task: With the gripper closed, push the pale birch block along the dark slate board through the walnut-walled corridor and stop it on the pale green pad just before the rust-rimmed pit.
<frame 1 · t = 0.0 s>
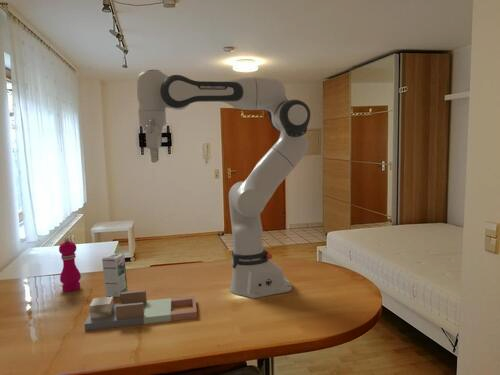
hand: (155, 161, 135), 48 cm above the table, tool pointing down, fingers open, 8 cm apart
birch block: (102, 313, 125), point 2 cm above the table, touching route board
syrup box: (116, 294, 146), on the table
route board: (145, 314, 127), on the table
pepper mill: (71, 289, 153), on the table
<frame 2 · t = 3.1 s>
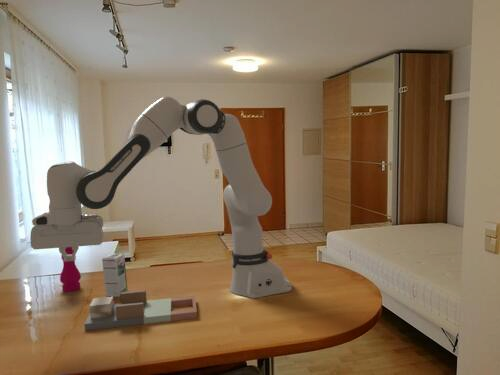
hand: (70, 260, 121), 20 cm above the table, tool pointing down, fingers closed
nothing on the table moved.
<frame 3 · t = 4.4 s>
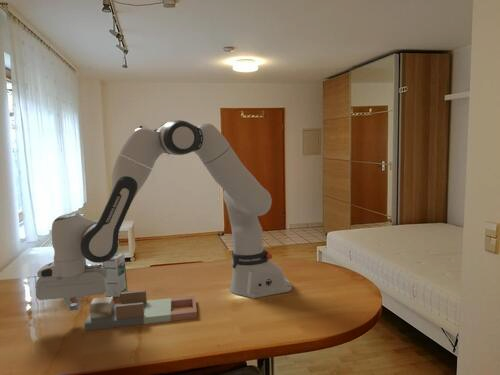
hand: (74, 309, 123), 4 cm above the table, tool pointing down, fingers closed
nothing on the table moved.
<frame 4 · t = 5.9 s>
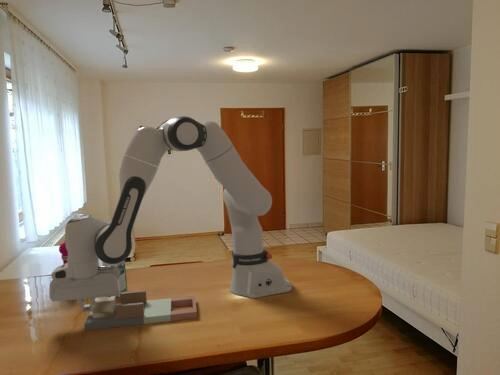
hand: (87, 311, 124), 3 cm above the table, tool pointing down, fingers closed
birch block: (104, 312, 125), point 2 cm above the table, touching gripper
everything else where it was.
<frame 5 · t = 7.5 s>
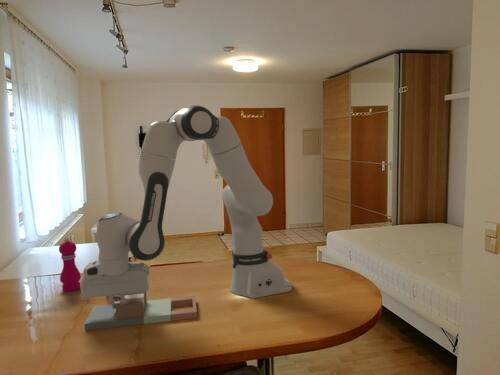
hand: (117, 307, 126), 3 cm above the table, tool pointing down, fingers closed
birch block: (134, 309, 127), point 2 cm above the table, touching gripper, route board
everything else where it was.
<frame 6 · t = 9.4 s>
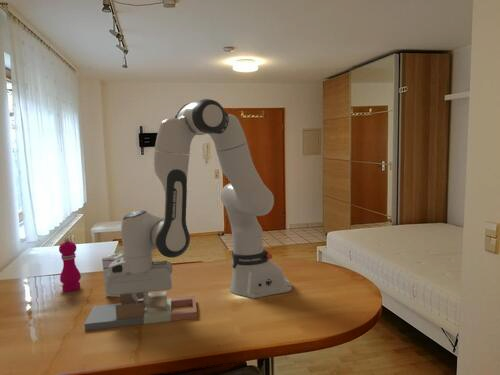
hand: (141, 305, 127), 3 cm above the table, tool pointing down, fingers closed
birch block: (157, 307, 128), point 2 cm above the table, touching gripper, route board
everything else where it was.
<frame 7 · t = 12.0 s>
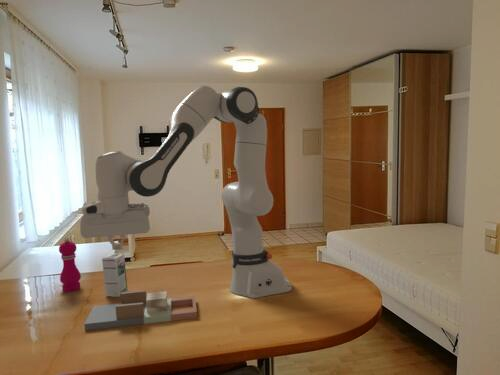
hand: (117, 249, 124), 22 cm above the table, tool pointing down, fingers closed
birch block: (157, 307, 128), point 2 cm above the table, touching route board
everything else where it was.
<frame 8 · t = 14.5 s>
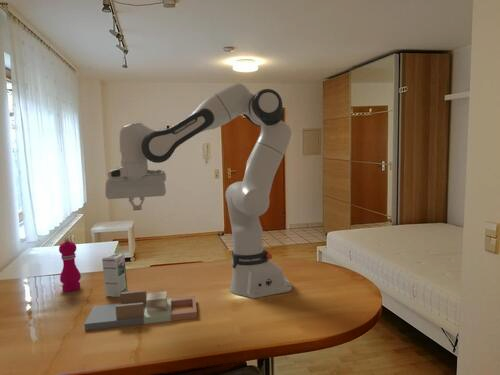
hand: (137, 210, 140), 31 cm above the table, tool pointing down, fingers closed
nothing on the table moved.
at the end: birch block 0.8 cm from the target spot, point 2.0 cm above the table; birch block tilted 0° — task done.
